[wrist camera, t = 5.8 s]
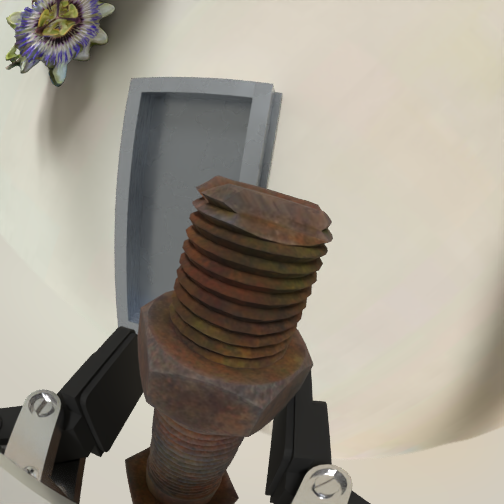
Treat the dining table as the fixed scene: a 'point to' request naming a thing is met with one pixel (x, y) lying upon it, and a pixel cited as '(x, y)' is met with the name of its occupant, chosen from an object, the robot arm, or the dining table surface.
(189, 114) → the tray
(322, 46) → the dining table surface
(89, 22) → the passion flower
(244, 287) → the bolt
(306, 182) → the dining table surface
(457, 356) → the dining table surface
